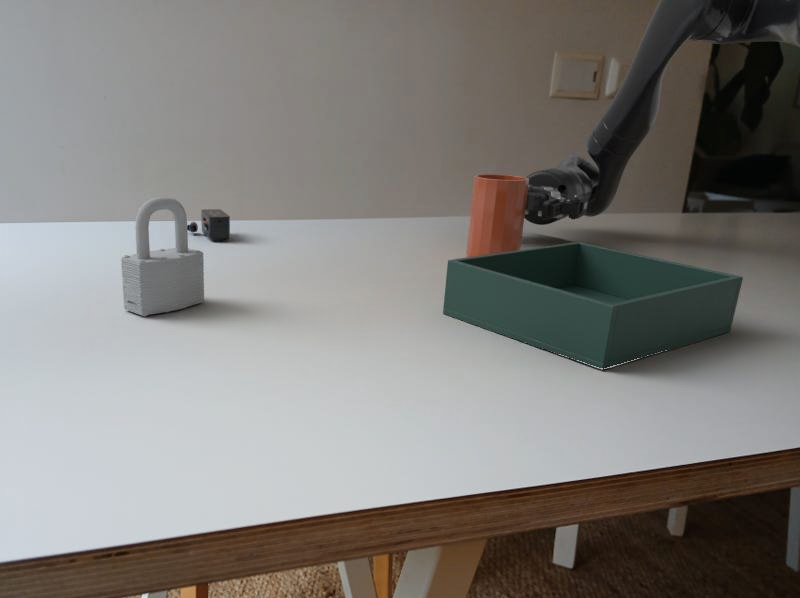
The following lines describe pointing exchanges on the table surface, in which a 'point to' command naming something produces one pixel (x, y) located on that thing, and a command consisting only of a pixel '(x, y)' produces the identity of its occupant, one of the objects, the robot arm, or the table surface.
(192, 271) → the padlock
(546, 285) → the tub
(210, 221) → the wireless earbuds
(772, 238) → the table surface
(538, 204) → the robot arm
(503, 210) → the tumbler
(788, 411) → the table surface
